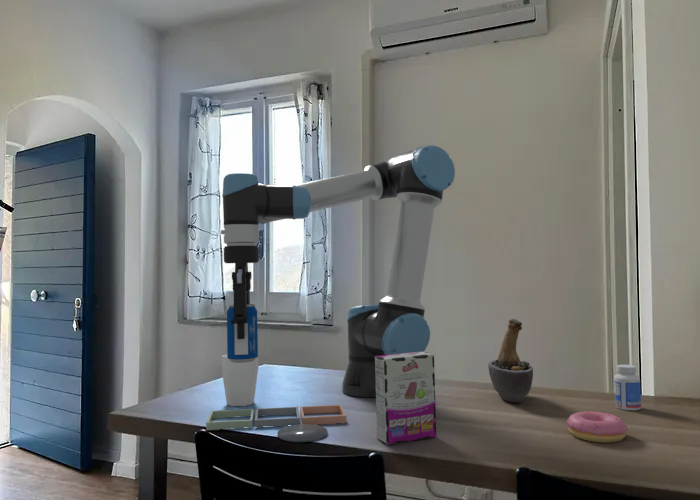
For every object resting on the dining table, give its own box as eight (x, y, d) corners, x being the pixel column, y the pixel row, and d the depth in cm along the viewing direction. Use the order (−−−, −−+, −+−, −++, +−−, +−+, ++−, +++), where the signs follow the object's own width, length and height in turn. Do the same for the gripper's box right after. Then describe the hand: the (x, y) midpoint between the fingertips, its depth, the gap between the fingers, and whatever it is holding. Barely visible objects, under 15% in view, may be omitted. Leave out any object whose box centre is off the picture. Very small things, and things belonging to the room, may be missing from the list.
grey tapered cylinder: (250, 408, 134) (250, 358, 134) (215, 407, 136) (215, 357, 136) (264, 399, 143) (263, 352, 143) (230, 398, 144) (230, 351, 145)
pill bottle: (644, 407, 130) (643, 365, 131) (637, 412, 127) (636, 369, 127) (619, 403, 134) (618, 363, 134) (611, 408, 130) (610, 366, 130)
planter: (524, 410, 129) (522, 323, 129) (465, 398, 142) (463, 319, 142) (556, 399, 139) (555, 319, 139) (498, 389, 151) (497, 314, 152)
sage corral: (253, 415, 127) (253, 408, 127) (252, 428, 118) (252, 420, 118) (211, 417, 126) (211, 410, 126) (206, 430, 117) (206, 422, 117)
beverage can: (243, 364, 117) (242, 306, 117) (221, 361, 120) (220, 305, 120) (264, 359, 122) (263, 304, 122) (242, 357, 126) (241, 303, 126)
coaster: (324, 425, 119) (324, 423, 119) (329, 440, 109) (329, 437, 109) (277, 428, 117) (277, 425, 118) (277, 443, 108) (277, 440, 108)
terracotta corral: (341, 411, 130) (341, 404, 130) (346, 423, 121) (346, 415, 121) (300, 413, 129) (300, 406, 129) (302, 425, 119) (302, 417, 119)
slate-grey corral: (298, 413, 129) (297, 406, 129) (299, 425, 119) (299, 418, 119) (256, 415, 127) (256, 408, 128) (254, 427, 118) (254, 420, 118)
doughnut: (641, 442, 106) (640, 420, 107) (592, 448, 103) (592, 425, 103) (600, 426, 117) (599, 406, 117) (555, 431, 114) (554, 410, 114)
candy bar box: (424, 431, 114) (422, 350, 115) (437, 438, 110) (435, 354, 110) (374, 438, 110) (373, 354, 110) (386, 446, 105) (385, 358, 106)
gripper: (228, 246, 131) (229, 345, 130) (218, 243, 111) (219, 360, 111) (260, 246, 132) (262, 344, 131) (256, 243, 112) (258, 358, 112)
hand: (242, 351), depth 121 cm, fingers closed on beverage can, 6 cm apart
